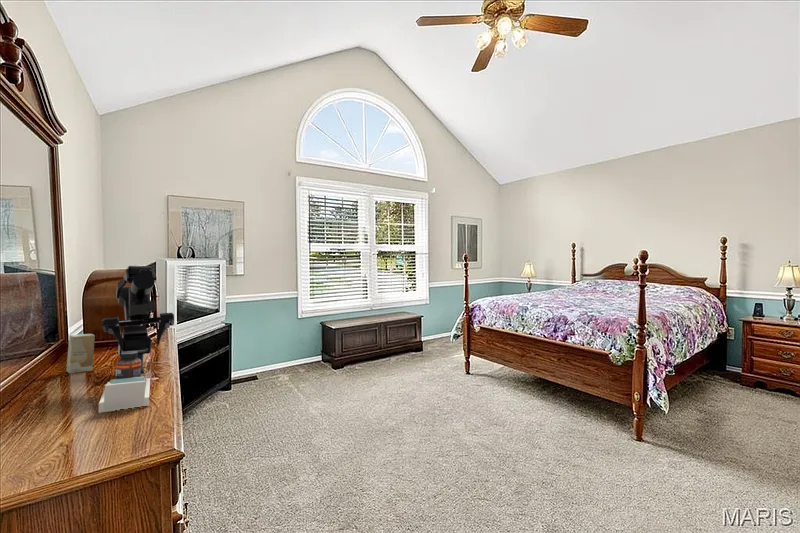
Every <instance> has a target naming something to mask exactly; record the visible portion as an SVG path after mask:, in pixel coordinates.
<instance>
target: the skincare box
mask: <svg viewBox="0 0 800 533" xmlns="http://www.w3.org/2000/svg"><path fill="white" fill-rule="evenodd" d="M68 336H69V338H68V347H67V359H66V370H65V372H67V373H68V374H76V372H77V373H84V371H85V372H92V371H93V365H94V352H95V340H96V338H95V337H96V335H95V334H93V333H81V334H80V333H79V334H78V333H77V334H70V335H68Z"/></svg>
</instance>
